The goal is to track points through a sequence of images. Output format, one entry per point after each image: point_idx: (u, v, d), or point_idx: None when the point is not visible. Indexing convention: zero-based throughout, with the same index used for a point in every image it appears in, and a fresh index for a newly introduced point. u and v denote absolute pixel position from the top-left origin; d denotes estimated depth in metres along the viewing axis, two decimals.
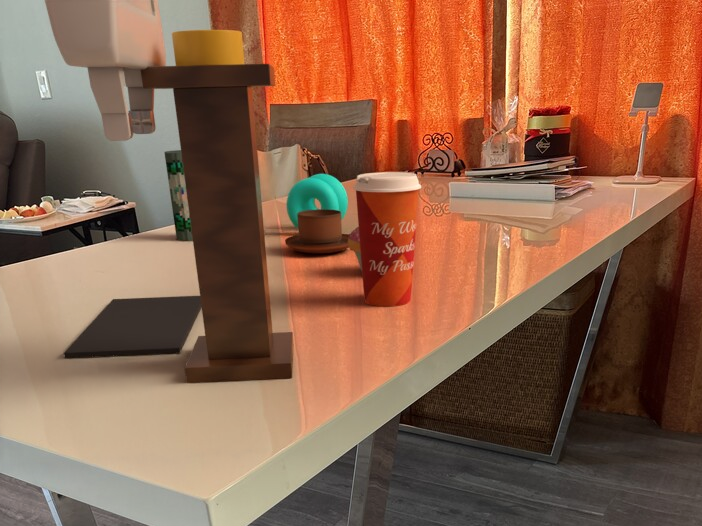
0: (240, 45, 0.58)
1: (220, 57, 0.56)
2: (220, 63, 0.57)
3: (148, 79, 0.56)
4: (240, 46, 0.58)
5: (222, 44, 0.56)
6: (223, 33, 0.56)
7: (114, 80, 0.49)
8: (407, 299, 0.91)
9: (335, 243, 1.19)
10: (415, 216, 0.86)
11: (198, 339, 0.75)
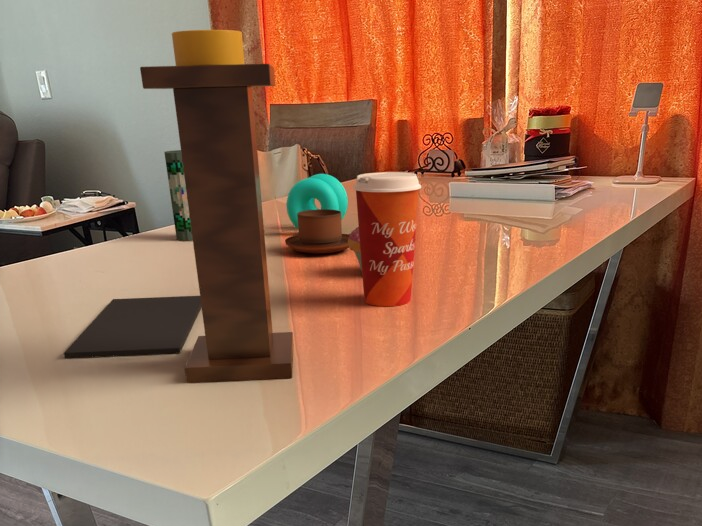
0: (240, 45, 0.58)
1: (220, 57, 0.56)
2: (220, 63, 0.57)
3: (148, 79, 0.56)
4: (240, 46, 0.58)
5: (222, 44, 0.56)
6: (223, 33, 0.56)
7: None
8: (407, 299, 0.91)
9: (335, 243, 1.19)
10: (415, 216, 0.86)
11: (198, 339, 0.75)
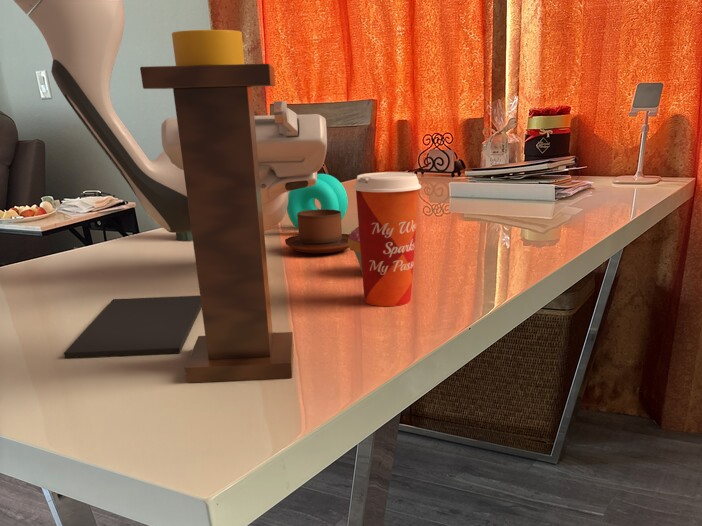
0: (240, 45, 0.58)
1: (220, 57, 0.56)
2: (220, 63, 0.57)
3: (148, 79, 0.56)
4: (240, 46, 0.58)
5: (222, 44, 0.56)
6: (223, 33, 0.56)
7: (297, 129, 0.86)
8: (407, 299, 0.91)
9: (335, 243, 1.19)
10: (415, 216, 0.86)
11: (198, 339, 0.75)
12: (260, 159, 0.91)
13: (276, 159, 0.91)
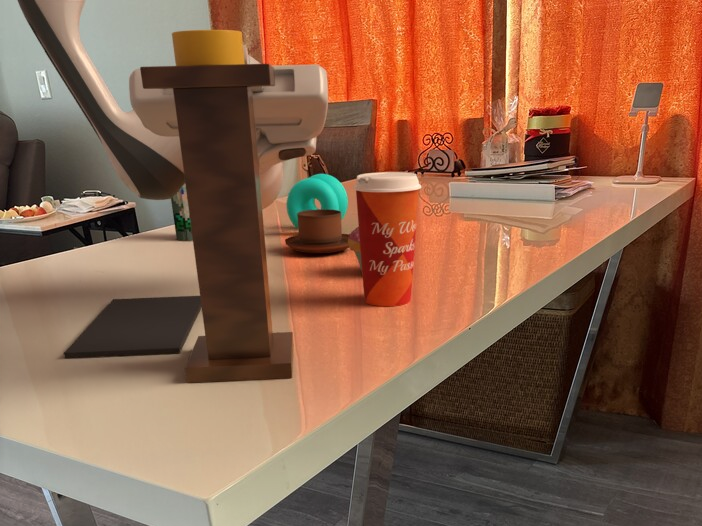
0: (240, 45, 0.58)
1: (220, 57, 0.56)
2: (220, 63, 0.57)
3: (148, 79, 0.56)
4: (240, 46, 0.58)
5: (222, 44, 0.56)
6: (223, 32, 0.56)
7: None
8: (407, 299, 0.91)
9: (335, 243, 1.19)
10: (415, 216, 0.86)
11: (198, 339, 0.75)
12: None
13: (268, 121, 0.77)
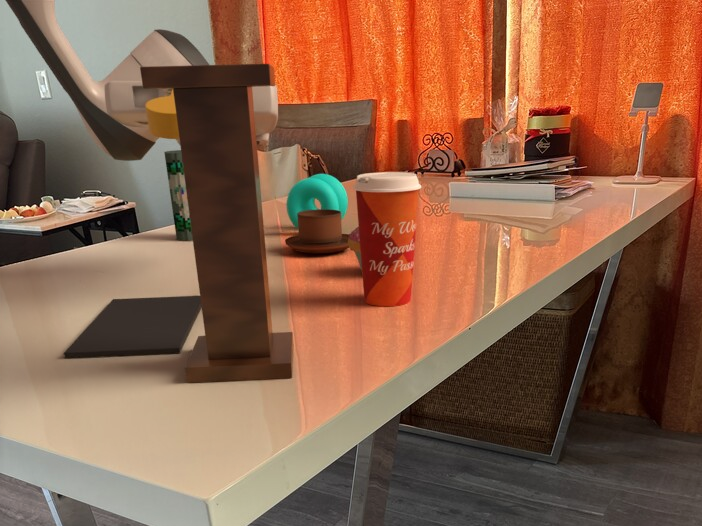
0: None
1: None
2: None
3: (148, 79, 0.56)
4: None
5: None
6: None
7: None
8: (407, 299, 0.91)
9: (335, 243, 1.19)
10: (415, 216, 0.86)
11: (198, 339, 0.75)
12: None
13: None
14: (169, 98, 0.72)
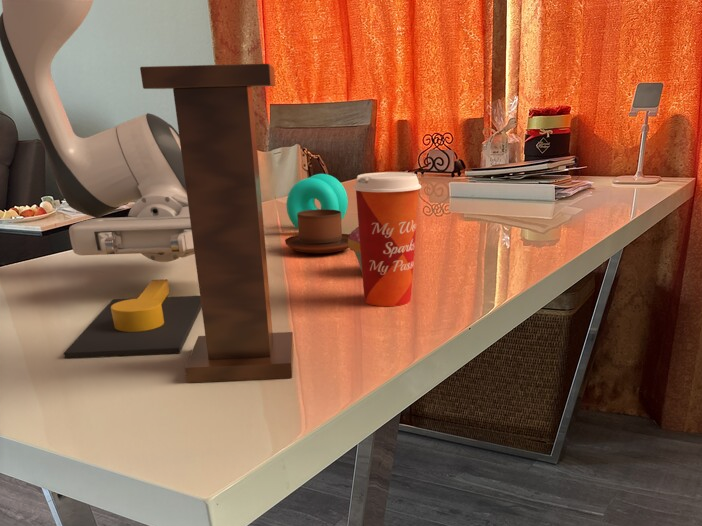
0: (159, 314, 0.82)
1: (144, 326, 0.81)
2: (144, 329, 0.81)
3: (148, 79, 0.56)
4: (159, 314, 0.82)
5: (145, 318, 0.80)
6: (146, 311, 0.80)
7: None
8: (407, 299, 0.91)
9: (335, 243, 1.19)
10: (415, 216, 0.86)
11: (198, 339, 0.75)
12: None
13: None
14: (133, 300, 0.83)
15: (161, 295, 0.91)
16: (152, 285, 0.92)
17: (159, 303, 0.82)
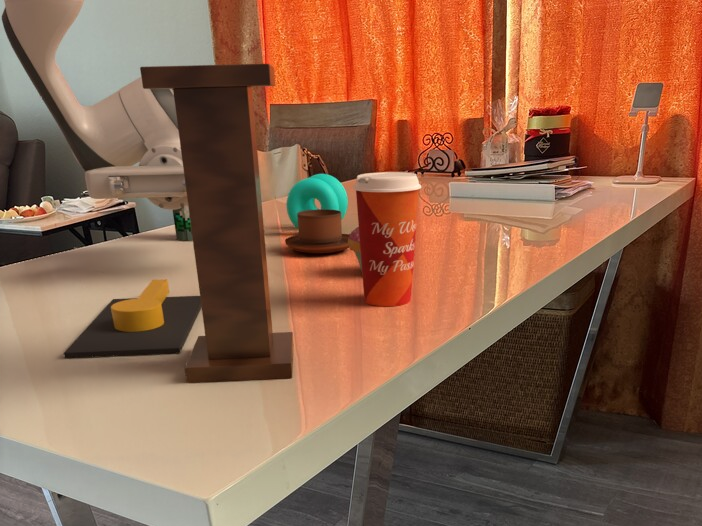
0: (159, 314, 0.82)
1: (144, 326, 0.81)
2: (144, 329, 0.81)
3: (148, 79, 0.56)
4: (159, 314, 0.82)
5: (145, 318, 0.80)
6: (146, 311, 0.80)
7: None
8: (407, 299, 0.91)
9: (335, 243, 1.19)
10: (415, 216, 0.86)
11: (198, 339, 0.75)
12: None
13: None
14: (133, 300, 0.83)
15: (161, 295, 0.91)
16: (152, 285, 0.92)
17: (159, 303, 0.82)
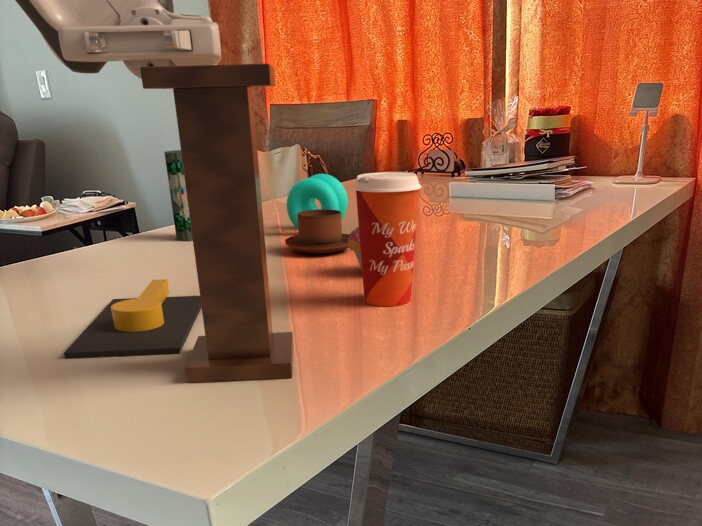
0: (159, 314, 0.82)
1: (144, 326, 0.81)
2: (144, 329, 0.81)
3: (148, 79, 0.56)
4: (159, 314, 0.82)
5: (145, 318, 0.80)
6: (146, 311, 0.80)
7: (190, 46, 0.90)
8: (407, 299, 0.91)
9: (335, 243, 1.19)
10: (415, 216, 0.86)
11: (198, 339, 0.75)
12: None
13: None
14: (133, 300, 0.83)
15: (161, 295, 0.91)
16: (152, 285, 0.92)
17: (159, 303, 0.82)
